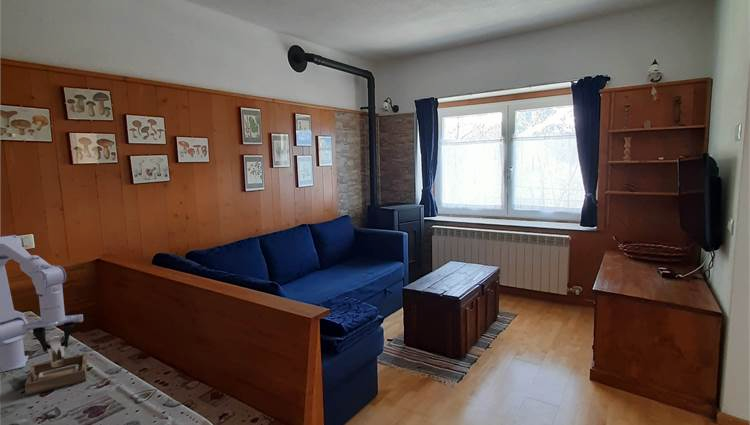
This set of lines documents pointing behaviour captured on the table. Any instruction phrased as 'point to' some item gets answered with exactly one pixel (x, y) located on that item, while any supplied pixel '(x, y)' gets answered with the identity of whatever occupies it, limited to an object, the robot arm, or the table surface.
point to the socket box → (56, 375)
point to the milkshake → (56, 350)
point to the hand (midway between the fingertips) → (56, 348)
